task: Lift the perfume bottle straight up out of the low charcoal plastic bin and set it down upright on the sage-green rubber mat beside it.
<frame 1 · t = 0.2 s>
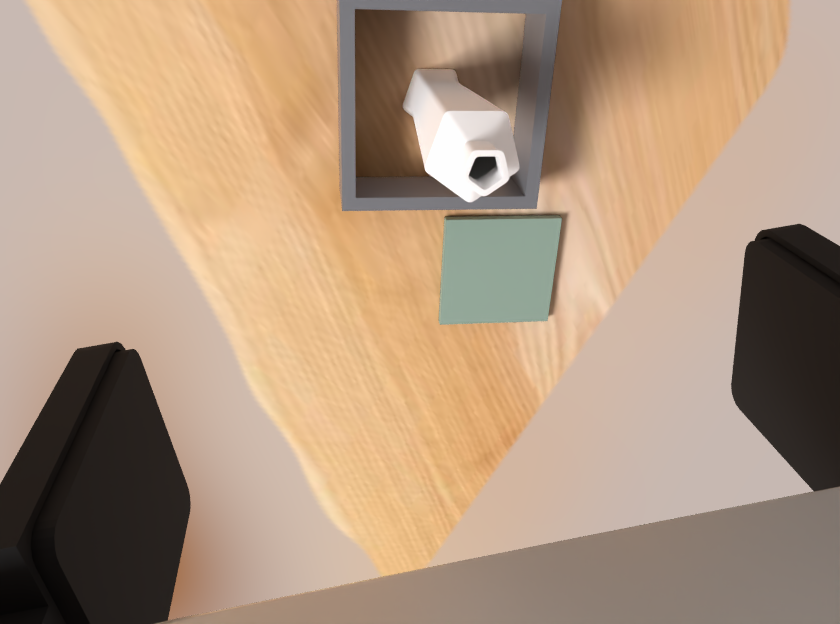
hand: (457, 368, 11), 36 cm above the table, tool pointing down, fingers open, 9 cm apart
mat: (497, 269, 51), on the table
bin: (435, 94, 44), on the table
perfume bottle: (435, 94, 45), resting in bin
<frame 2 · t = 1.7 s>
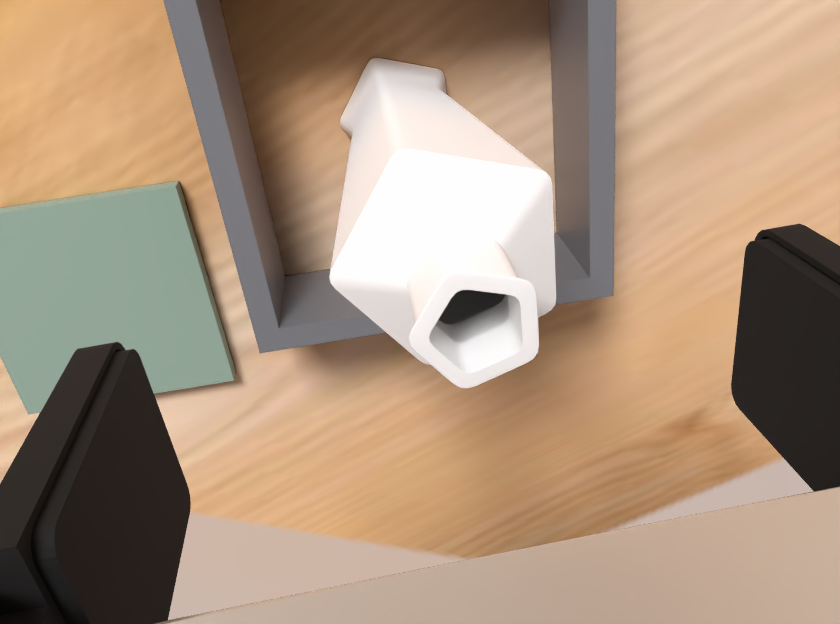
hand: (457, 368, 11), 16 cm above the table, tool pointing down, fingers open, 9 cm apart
mat: (101, 300, 27), on the table
bin: (403, 117, 25), on the table
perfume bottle: (403, 115, 25), resting in bin
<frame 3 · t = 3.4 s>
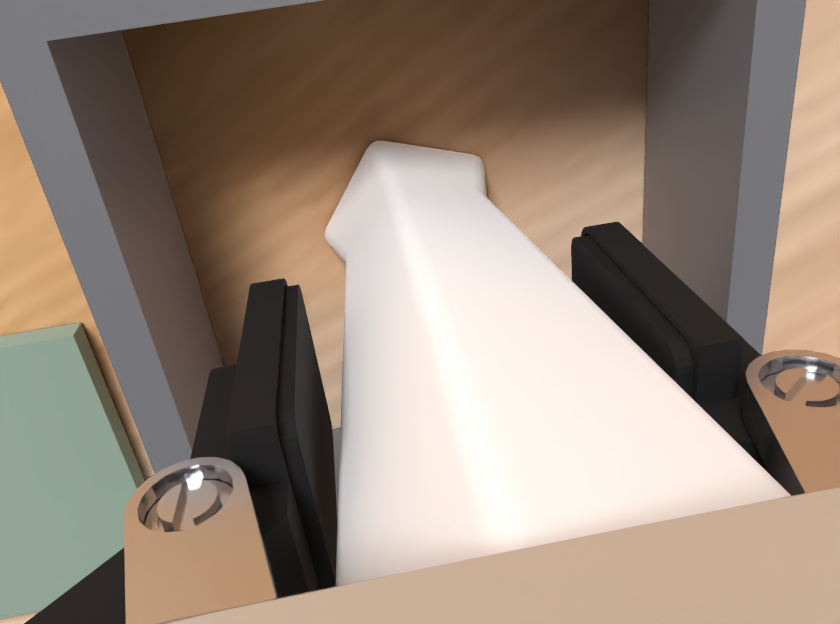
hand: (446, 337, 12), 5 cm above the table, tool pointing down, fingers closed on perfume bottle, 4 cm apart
bin: (422, 224, 16), on the table
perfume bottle: (420, 221, 16), resting in bin, touching gripper
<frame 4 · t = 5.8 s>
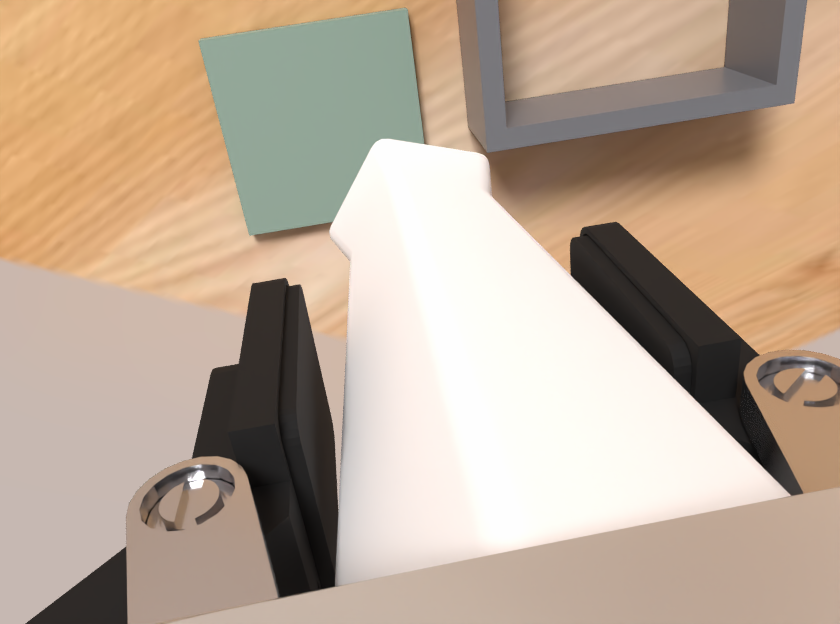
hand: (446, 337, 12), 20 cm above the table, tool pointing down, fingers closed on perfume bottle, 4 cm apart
mat: (323, 125, 30), on the table
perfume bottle: (424, 220, 16), point 15 cm above the table, touching gripper
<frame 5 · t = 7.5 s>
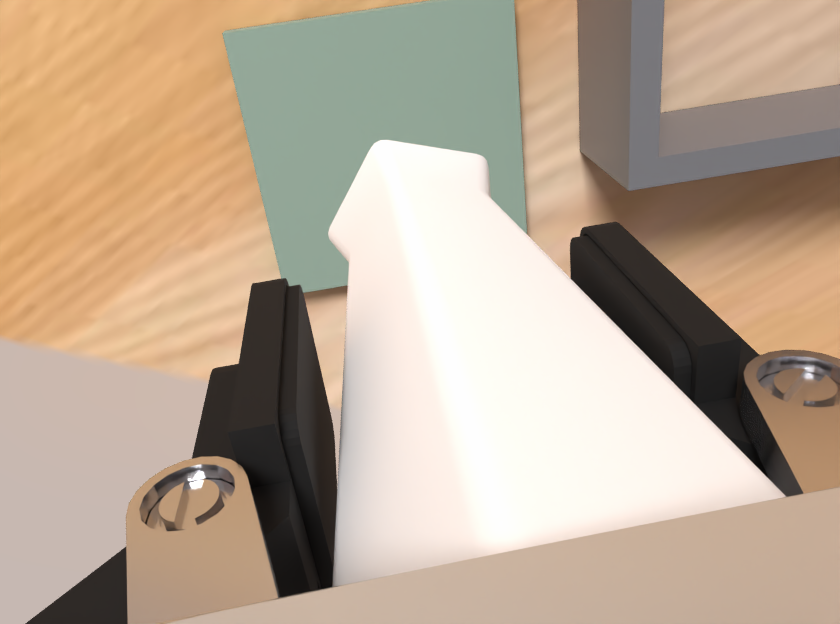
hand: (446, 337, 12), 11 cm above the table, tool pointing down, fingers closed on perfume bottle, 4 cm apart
mat: (388, 149, 22), on the table
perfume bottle: (423, 221, 16), point 6 cm above the table, touching gripper
when the fingers open (7 cm above the table, at t = 8.7 s): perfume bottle stays where it is, resting on mat.
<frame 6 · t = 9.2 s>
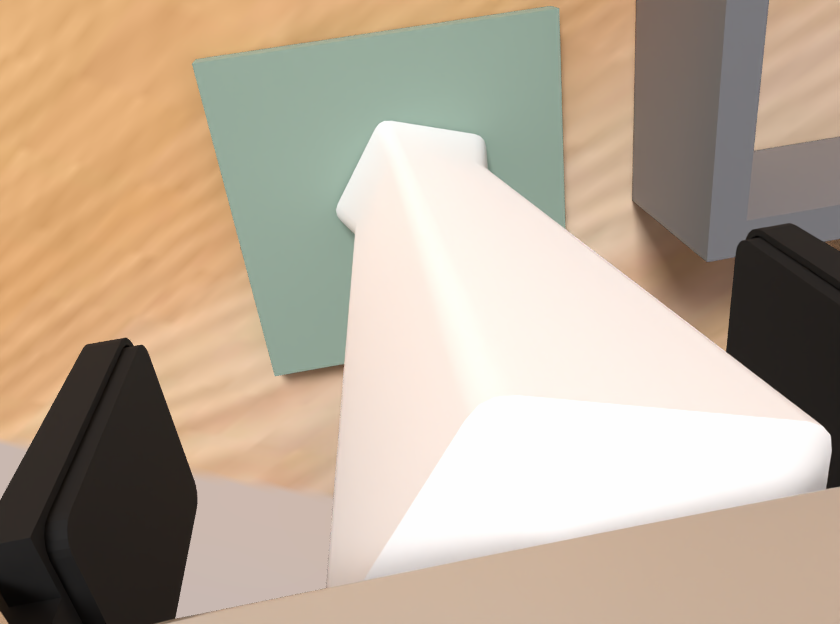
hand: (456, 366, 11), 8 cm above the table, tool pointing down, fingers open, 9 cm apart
mat: (400, 201, 18), on the table
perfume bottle: (425, 199, 17), resting on mat
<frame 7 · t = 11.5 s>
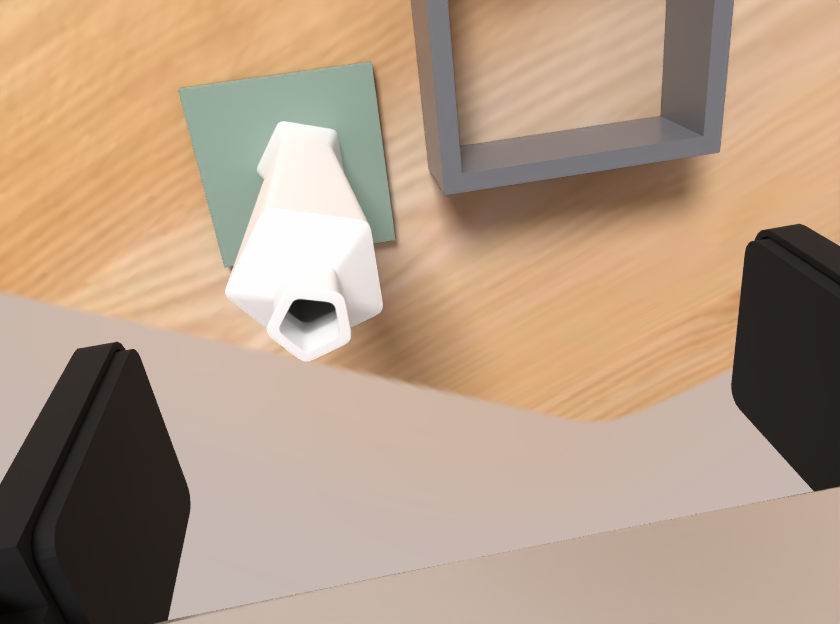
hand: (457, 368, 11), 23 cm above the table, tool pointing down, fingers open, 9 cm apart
mat: (294, 166, 32), on the table
bin: (551, 11, 31), on the table
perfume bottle: (307, 164, 32), resting on mat
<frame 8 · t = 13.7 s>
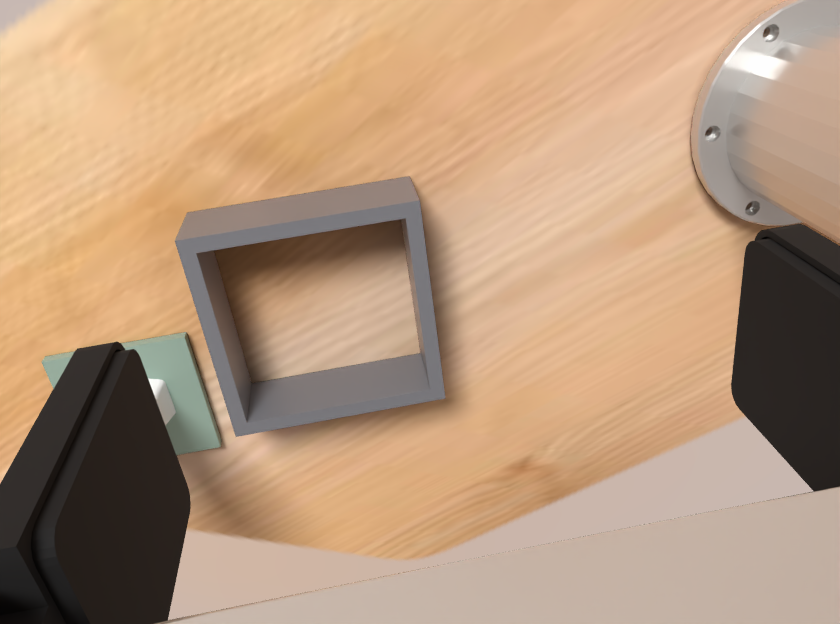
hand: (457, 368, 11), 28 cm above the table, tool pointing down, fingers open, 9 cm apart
mat: (137, 400, 43), on the table
bin: (320, 293, 41), on the table
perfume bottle: (145, 401, 43), resting on mat
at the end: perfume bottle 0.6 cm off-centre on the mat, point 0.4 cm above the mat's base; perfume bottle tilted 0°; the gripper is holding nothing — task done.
